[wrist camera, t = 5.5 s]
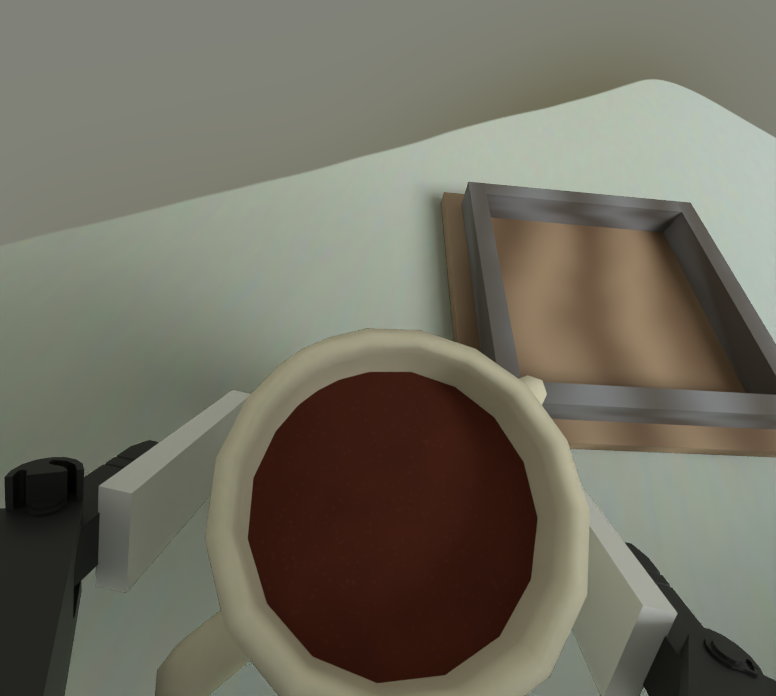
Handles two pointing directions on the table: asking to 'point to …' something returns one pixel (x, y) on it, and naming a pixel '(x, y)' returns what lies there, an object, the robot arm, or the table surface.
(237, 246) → the table surface
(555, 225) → the mug dock
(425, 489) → the character mug
